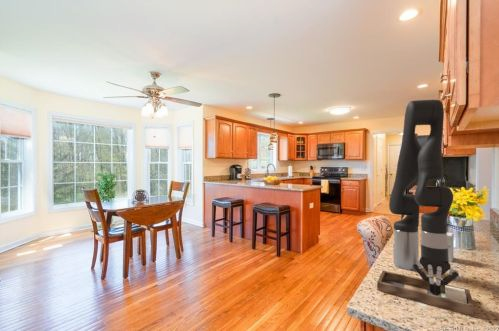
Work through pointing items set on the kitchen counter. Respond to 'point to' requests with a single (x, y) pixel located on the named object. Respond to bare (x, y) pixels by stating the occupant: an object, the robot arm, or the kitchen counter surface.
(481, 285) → the kitchen counter surface
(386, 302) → the kitchen counter surface
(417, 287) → the channel
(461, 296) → the cream block
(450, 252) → the supplement box
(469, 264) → the kitchen counter surface
